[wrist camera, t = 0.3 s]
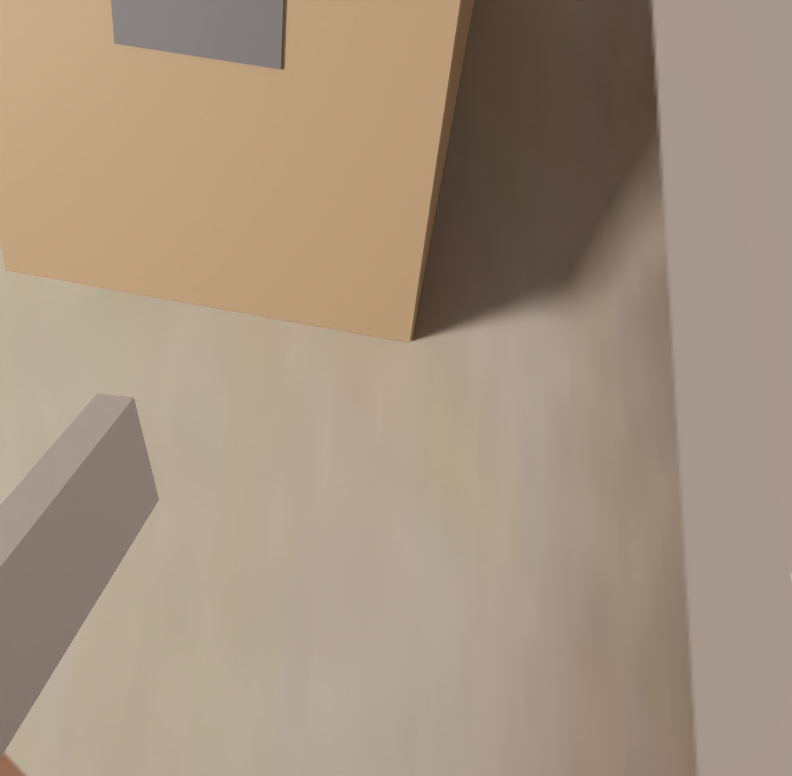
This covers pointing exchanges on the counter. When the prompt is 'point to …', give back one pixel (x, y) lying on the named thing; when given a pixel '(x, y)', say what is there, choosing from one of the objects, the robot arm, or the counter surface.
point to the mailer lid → (227, 151)
